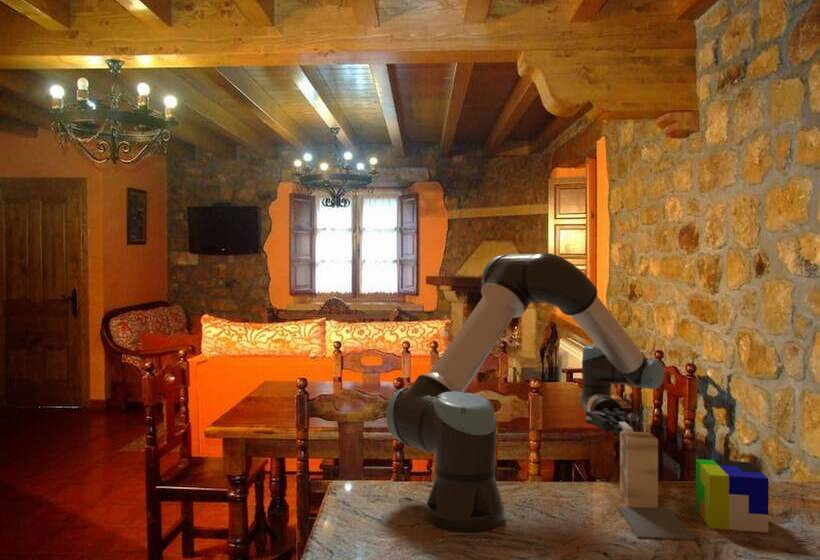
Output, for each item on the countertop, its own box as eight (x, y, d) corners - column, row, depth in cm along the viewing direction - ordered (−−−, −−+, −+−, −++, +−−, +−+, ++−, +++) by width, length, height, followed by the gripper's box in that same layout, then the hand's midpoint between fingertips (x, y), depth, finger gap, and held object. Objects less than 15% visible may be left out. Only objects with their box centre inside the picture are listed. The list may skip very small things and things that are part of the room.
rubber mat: (618, 508, 124) (618, 507, 124) (669, 510, 123) (669, 508, 123) (637, 538, 110) (637, 536, 110) (695, 540, 109) (695, 538, 109)
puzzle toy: (768, 532, 112) (768, 478, 112) (709, 528, 114) (709, 474, 114) (749, 512, 122) (749, 462, 122) (695, 508, 124) (695, 459, 124)
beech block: (619, 497, 130) (620, 431, 130) (649, 498, 130) (649, 432, 129) (627, 507, 124) (627, 439, 124) (657, 508, 124) (658, 439, 123)
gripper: (630, 425, 157) (660, 452, 134) (579, 425, 158) (599, 451, 135) (630, 396, 157) (660, 418, 134) (579, 396, 158) (599, 417, 135)
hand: (629, 435), depth 134 cm, fingers closed
